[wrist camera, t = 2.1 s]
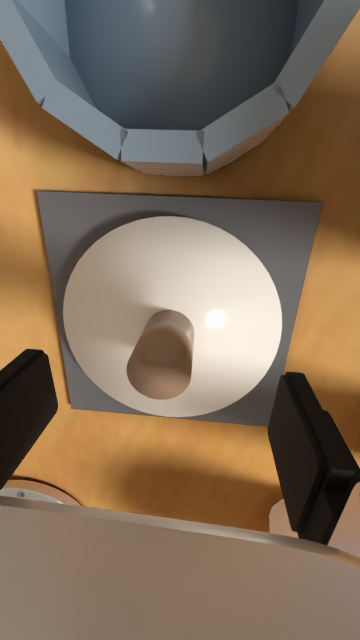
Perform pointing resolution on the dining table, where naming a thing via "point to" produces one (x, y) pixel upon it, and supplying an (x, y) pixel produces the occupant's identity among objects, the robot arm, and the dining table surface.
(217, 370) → the lid
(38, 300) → the dining table surface
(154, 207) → the mat
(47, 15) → the bowl
